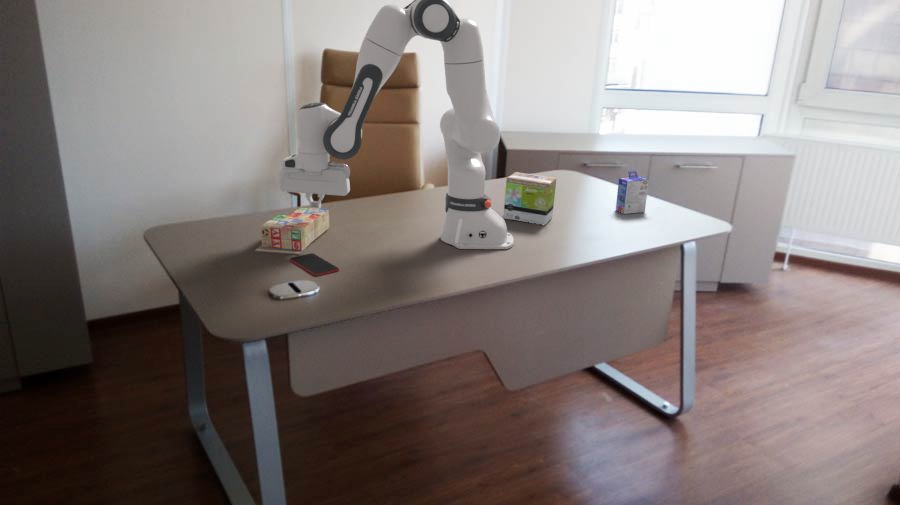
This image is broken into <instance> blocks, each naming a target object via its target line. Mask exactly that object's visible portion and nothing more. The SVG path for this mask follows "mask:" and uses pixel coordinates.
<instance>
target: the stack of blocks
mask: <svg viewBox="0 0 900 505" xmlns="http://www.w3.org/2000/svg"><path fill="white" fill-rule="evenodd" d="M329 210H330V209H329V208H320V209H318V208H310V207H299V208H298V209H296V210H294V211H293V212H292V213H290V214H278V215H276V216H274V217H272V218H270V220H267V221H266V222H265V223H264V224H261V226H260V234H261V236H260V237H261V245H262V246H263V247H272V248H279V249H291V250H298V251H302V250H303V249H305V248H306V247H307V246H308V245H309V246H310V245H311V244H312V243H313V241H315V240H316V239H318V238H319V237H320V236H322V234H323V233H325V232H326V231H327V230H328V229H329V228H330V213H329V212H330V211H329ZM307 248H308V247H307ZM307 248H306V249H307ZM306 249H305V250H306Z"/></svg>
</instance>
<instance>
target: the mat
mask: <svg viewBox="0 0 900 505" xmlns="http://www.w3.org/2000/svg"><path fill="white" fill-rule="evenodd" d="M308 246H309V247H310V244H309V245H308ZM308 246H307V247H306V248H305V249H303V250H302V251H298V250H291V249H279V248H272V247H263V246H262V244H260V245H259V246H257V248H256V249H255V250H254V252H256V253H270V254H282V255H293V256H294V255H297V256H301V255H302V253H303V252H304V251H305V250H306V249H307V248H308Z"/></svg>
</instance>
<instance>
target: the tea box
mask: <svg viewBox="0 0 900 505" xmlns="http://www.w3.org/2000/svg"><path fill="white" fill-rule="evenodd" d="M505 183H506V184H505V194H504V203H503V204H504V205H503V219H504V220H512V221H513V220H514V221H518V222H523V223H528V222H529V224H534V223H537V224H536V225H539V224H544V225H545V224H546V223H547V222H548V221H549V220H552V218H553V214H554V213H553V212H554V207H555V206H554V204H555V196H556V186H557V177H553V176H546V175H540V174H533V173H525V172H524V173H523V172H518V171H515V172H513V173H512V174H511V175H509V176H507V177H506V182H505ZM549 222H550V221H549ZM549 222H548V223H549ZM548 223H547V224H548ZM547 224H546V225H547ZM544 225H543V226H544ZM546 225H545V226H546Z"/></svg>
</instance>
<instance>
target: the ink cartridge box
mask: <svg viewBox="0 0 900 505" xmlns="http://www.w3.org/2000/svg"><path fill="white" fill-rule="evenodd" d="M632 174H633V175H632ZM649 184H650V178H649V179H648V178H645V177H643V176H638V172H637V171H636V170H635V171H634V170H633V171H632V170H631V171H628V177H621V178H618V184H617V195H616V204H615V211H616V212H618V211H619V212H618V213H620V212H621V213H620V214H622V215H626V214H637V213H645V212H646V204H647V198H648V191H649V190H648V189H649Z"/></svg>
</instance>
